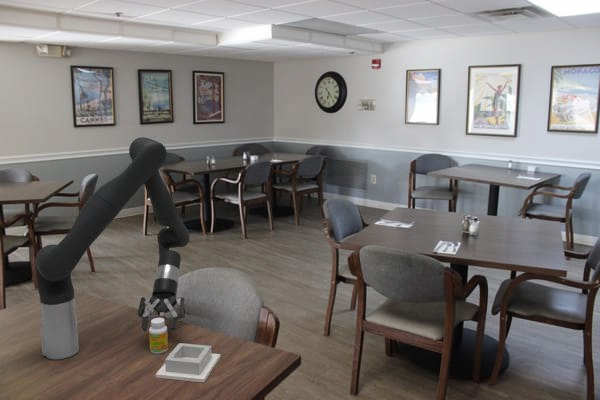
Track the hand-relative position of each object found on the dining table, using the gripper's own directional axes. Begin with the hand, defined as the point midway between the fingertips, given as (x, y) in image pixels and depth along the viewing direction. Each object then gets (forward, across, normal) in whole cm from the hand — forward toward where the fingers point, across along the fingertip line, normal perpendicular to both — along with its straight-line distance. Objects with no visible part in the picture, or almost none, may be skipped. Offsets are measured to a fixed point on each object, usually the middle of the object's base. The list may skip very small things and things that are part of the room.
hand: (158, 330), depth 155 cm
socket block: (+12, +11, -3) cm, 17 cm away
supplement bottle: (+5, 0, +4) cm, 6 cm away
